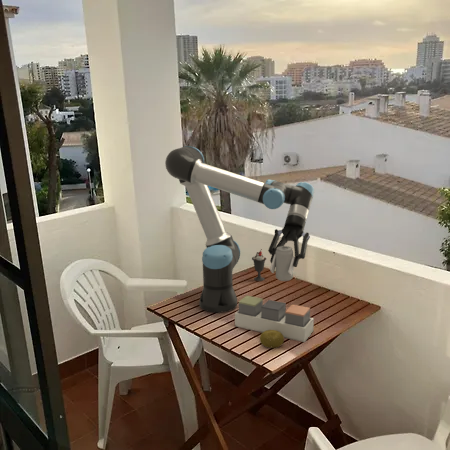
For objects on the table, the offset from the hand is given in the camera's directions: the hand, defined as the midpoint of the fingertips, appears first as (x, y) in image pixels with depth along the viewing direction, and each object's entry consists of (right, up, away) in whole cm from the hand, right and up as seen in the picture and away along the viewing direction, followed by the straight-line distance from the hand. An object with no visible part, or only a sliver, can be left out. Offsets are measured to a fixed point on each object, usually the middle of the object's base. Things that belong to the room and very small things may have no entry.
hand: (280, 272), depth 169 cm
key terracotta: (+5, -17, -8) cm, 20 cm away
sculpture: (-5, -23, -14) cm, 27 cm away
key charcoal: (-3, -17, -4) cm, 17 cm away
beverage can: (+2, -3, +4) cm, 5 cm away
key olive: (-11, -16, 0) cm, 19 cm away
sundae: (-5, -8, +45) cm, 46 cm away
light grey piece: (-3, -20, -3) cm, 20 cm away
